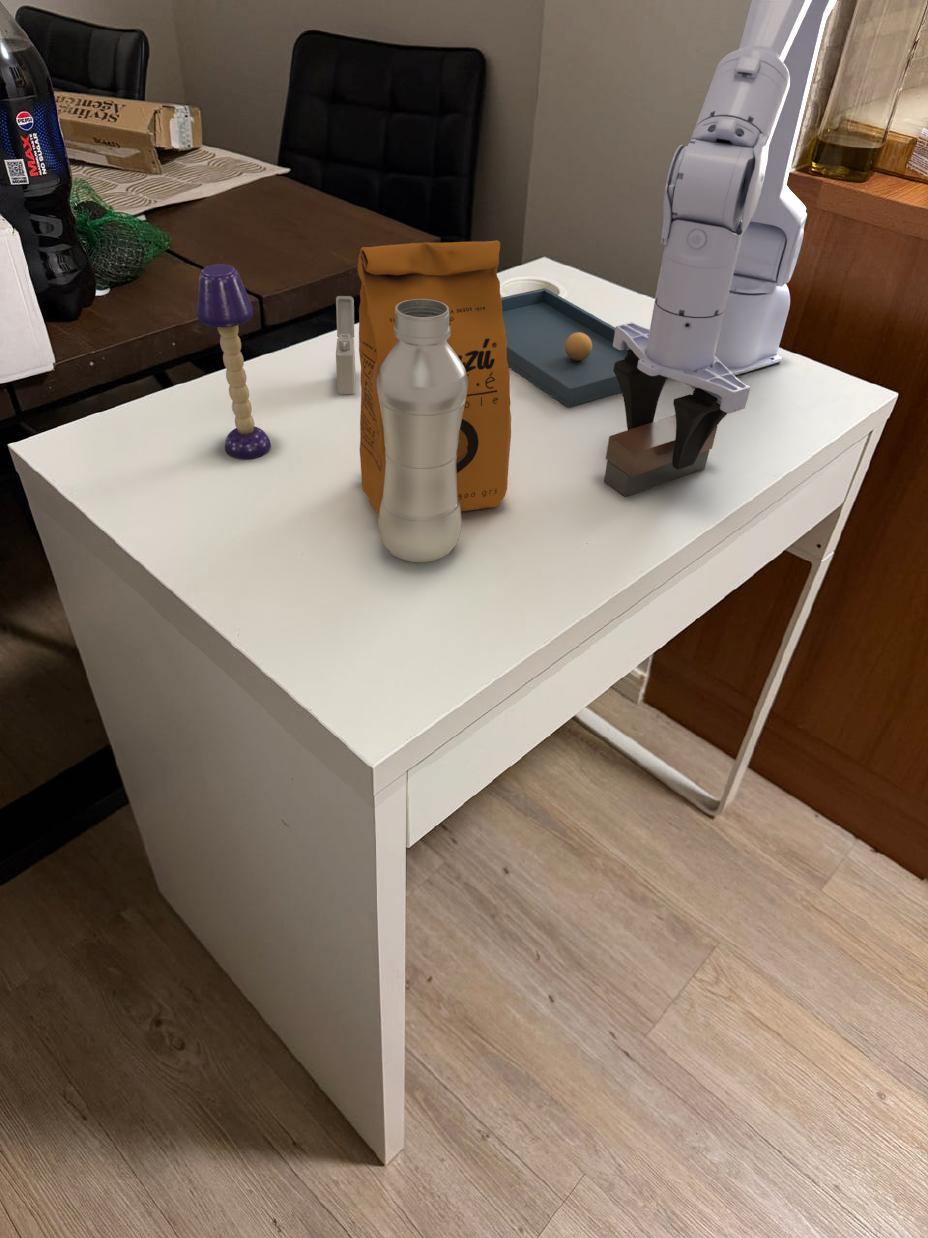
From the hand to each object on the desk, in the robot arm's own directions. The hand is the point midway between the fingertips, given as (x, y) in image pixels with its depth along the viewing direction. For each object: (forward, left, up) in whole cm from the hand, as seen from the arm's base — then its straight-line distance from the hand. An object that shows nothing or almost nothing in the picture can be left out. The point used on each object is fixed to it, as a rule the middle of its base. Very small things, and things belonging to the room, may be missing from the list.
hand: (660, 450), depth 84 cm
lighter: (+16, -31, -3) cm, 35 cm away
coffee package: (+20, -7, -3) cm, 21 cm away
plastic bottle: (+25, -1, -3) cm, 25 cm away
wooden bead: (-8, -22, 0) cm, 23 cm away
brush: (0, 0, -3) cm, 3 cm away
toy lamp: (+31, -23, -3) cm, 39 cm away
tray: (-8, -26, -3) cm, 27 cm away
